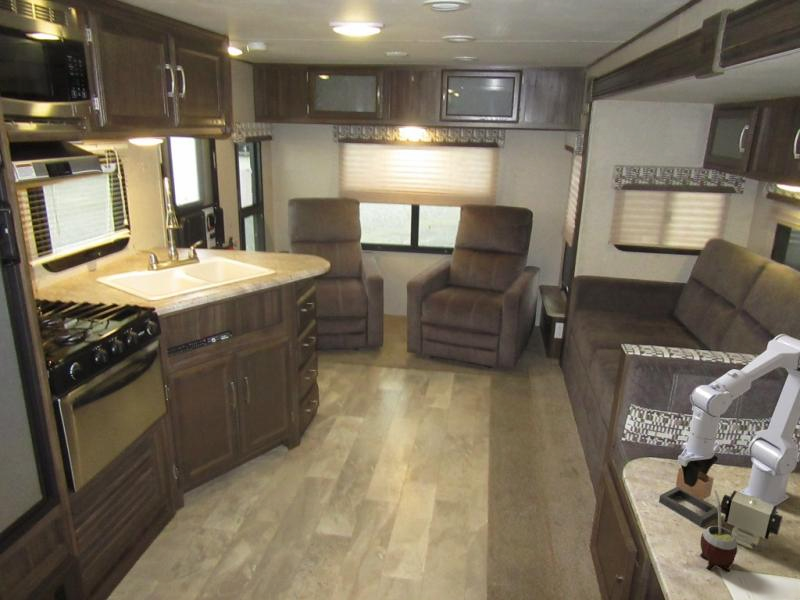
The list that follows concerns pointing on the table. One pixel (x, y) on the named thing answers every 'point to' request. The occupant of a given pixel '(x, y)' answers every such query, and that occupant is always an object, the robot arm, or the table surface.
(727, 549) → the mate gourd
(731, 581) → the table surface
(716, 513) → the duct collar
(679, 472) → the brown rectangular block
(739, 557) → the table surface
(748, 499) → the pneumatic valve
